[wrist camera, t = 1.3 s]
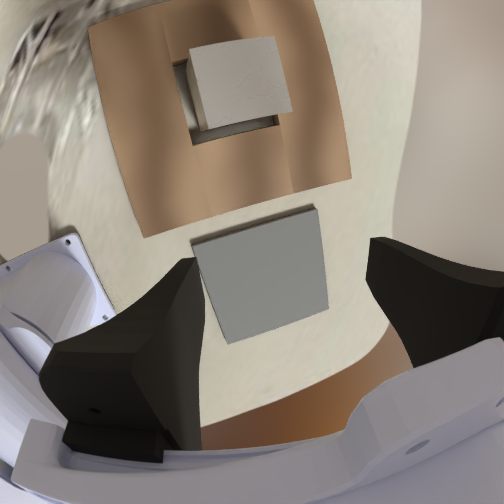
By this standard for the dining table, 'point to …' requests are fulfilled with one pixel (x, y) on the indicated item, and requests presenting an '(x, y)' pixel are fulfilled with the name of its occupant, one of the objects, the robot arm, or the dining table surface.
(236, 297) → the gray square plate
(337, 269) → the dining table surface
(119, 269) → the dining table surface
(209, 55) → the steel plug
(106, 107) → the walnut hole plate
